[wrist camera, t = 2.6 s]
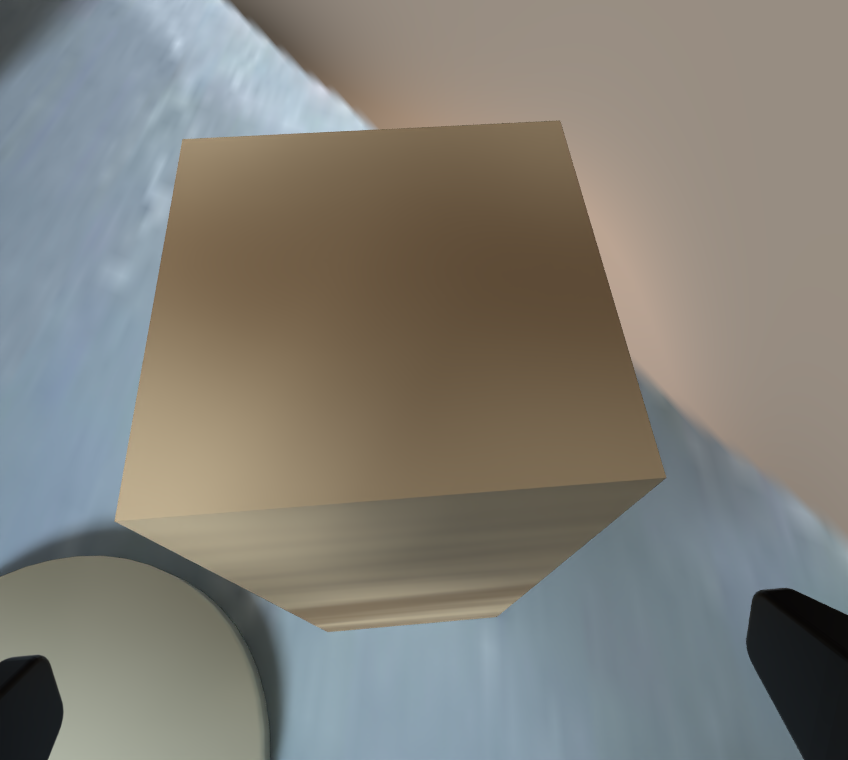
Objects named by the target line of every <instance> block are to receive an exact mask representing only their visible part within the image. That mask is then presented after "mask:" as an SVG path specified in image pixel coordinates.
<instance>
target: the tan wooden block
mask: <svg viewBox="0 0 848 760" xmlns="http://www.w3.org/2000/svg"><path fill="white" fill-rule="evenodd" d="M665 478H666V475H665V472H664V468H663V465H662V462H661V458H660V455H659V452H658V448H657V445H656V442H655V438H654V435H653V431H652V428H651V425H650V421H649V418H648V415H647V411H646V408H645V404H644V401H643V398H642V394H641V391H640V388H639V384H638V381H637V378H636V374H635V371H634V367H633V364H632V361H631V357H630V354H629V351H628V347H627V344H626V341H625V337H624V334H623V330H622V327H621V324H620V320H619V317H618V314H617V310H616V307H615V304H614V300H613V297H612V293H611V290H610V287H609V283H608V280H607V277H606V273H605V270H604V267H603V263H602V260H601V257H600V253H599V250H598V246H597V243H596V240H595V237H594V233H593V229H592V226H591V223H590V220H589V216H588V213H587V210H586V206H585V203H584V199H583V196H582V193H581V189H580V186H579V183H578V179H577V176H576V172H575V169H574V166H573V162H572V159H571V156H570V152H569V149H568V145H567V142H566V139H565V136H564V132H563V129H562V125H561V122H560V121H544V122H524V123H502V124H481V125H462V126H441V127H422V128H401V129H381V130H361V131H341V132H320V133H300V134H280V135H260V136H240V137H220V138H200V139H183V140H182V146H181V151H180V157H179V162H178V168H177V174H176V179H175V185H174V190H173V196H172V202H171V207H170V213H169V219H168V224H167V230H166V235H165V241H164V247H163V252H162V258H161V264H160V269H159V275H158V280H157V286H156V292H155V297H154V303H153V308H152V314H151V320H150V325H149V331H148V337H147V342H146V348H145V353H144V359H143V365H142V370H141V376H140V381H139V387H138V393H137V398H136V404H135V410H134V415H133V421H132V426H131V432H130V438H129V443H128V449H127V455H126V460H125V466H124V471H123V477H122V483H121V488H120V494H119V499H118V505H117V511H116V516H115V522H117V523H119V524H121V525H123V526H125V527H127V528H128V529H130V530H132V531H134V532H136V533H138V534H140V535H142V536H144V537H146V538H148V539H150V540H152V541H153V542H155V543H157V544H159V545H161V546H163V547H165V548H167V549H169V550H171V551H173V552H175V553H177V554H179V555H180V556H182V557H184V558H186V559H188V560H190V561H192V562H194V563H196V564H198V565H200V566H202V567H204V568H205V569H207V570H209V571H211V572H213V573H215V574H217V575H219V576H221V577H223V578H225V579H227V580H229V581H231V582H232V583H234V584H236V585H238V586H240V587H242V588H244V589H246V590H248V591H250V592H252V593H254V594H256V595H257V596H259V597H261V598H263V599H265V600H267V601H269V602H271V603H273V604H275V605H277V606H279V607H281V608H283V609H284V610H286V611H288V612H290V613H292V614H294V615H296V616H298V617H300V618H302V619H304V620H306V621H308V622H309V623H311V624H313V625H315V626H317V627H319V628H321V629H323V630H325V631H327V632H333V631H345V630H356V629H367V628H378V627H390V626H401V625H412V624H423V623H435V622H446V621H457V620H468V619H479V618H491V617H497V616H499V615H500V614H501V613H502V612H503V611H505V610H506V609H507V608H508V607H509V606H511V605H512V604H513V603H514V602H516V601H517V600H518V599H519V598H520V597H522V596H523V595H524V594H525V593H527V592H528V591H529V590H530V589H531V588H533V587H534V586H535V585H536V584H537V583H539V582H540V581H541V580H542V579H544V578H545V577H546V576H547V575H548V574H550V573H551V572H552V571H553V570H555V569H556V568H557V567H558V566H559V565H561V564H562V563H563V562H564V561H565V560H567V559H568V558H569V557H570V556H572V555H573V554H574V553H575V552H576V551H578V550H579V549H580V548H581V547H583V546H584V545H585V544H586V543H587V542H589V541H590V540H591V539H592V538H593V537H595V536H596V535H597V534H598V533H600V532H601V531H602V530H603V529H604V528H606V527H607V526H608V525H609V524H611V523H612V522H613V521H614V520H615V519H617V518H618V517H619V516H620V515H622V514H623V513H624V512H625V511H626V510H628V509H629V508H630V507H631V506H632V505H634V504H635V503H636V502H637V501H639V500H640V499H641V498H642V497H643V496H645V495H646V494H647V493H648V492H650V491H651V490H652V489H653V488H654V487H656V486H657V485H658V484H659V483H660V482H662V481H663V480H664V479H665Z"/></svg>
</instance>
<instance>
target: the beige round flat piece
mask: <svg viewBox="0 0 848 760" xmlns="http://www.w3.org/2000/svg"><path fill="white" fill-rule="evenodd" d="M28 655H42V656H45V657H46V658H47V659H48V660H49V662H50V664H51V667H52V671H53V674H54V677H55V680H56V683H57V686H58V690H59V693H60V696H61V699H62V702H63V710H64V714H63V721H62V725H61V728H60V731H59V734H58V736H57V739H56V741H55V744H54V746H53V749H52V751H51V754H50V756H49V759H48V760H270V727H269V719H268V712H267V704H266V698H265V694H264V690H263V687H262V683H261V679H260V675H259V672H258V669H257V667H256V664H255V662H254V660H253V657H252V655H251V652H250V650H249V648H248V646H247V644H246V642H245V641H244V639H243V637H242V636H241V634H240V632H239V631H238V629H237V627H236V626H235V625H234V623H233V622H232V621H231V620H230V618H229V617H228V616H227V615H226V613H225V612H224V611H223V610H222V609H221V608H220V607H219V606H218V605H217V604H216V603H215V602H214V601H213V600H212V599H210V598H209V597H208V596H207V595H206V594H205V593H203V592H202V591H200V590H199V589H197V588H196V587H194V586H193V585H191V584H190V583H188V582H187V581H185V580H182V579H180V578H178V577H176V576H173V575H171V574H169V573H167V572H165V571H162V570H160V569H157V568H155V567H153V566H150V565H147V564H144V563H140V562H136V561H133V560H129V559H124V558H116V557H108V556H76V557H69V558H62V559H55V560H50V561H46V562H42V563H38V564H35V565H31V566H27V567H24V568H22V569H19V570H16V571H14V572H11V573H9V574H6V575H4V576H1V577H0V662H1V661H3V660H5V659H7V658H11V657H17V656H28Z"/></svg>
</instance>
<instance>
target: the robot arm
mask: <svg viewBox="0 0 848 760" xmlns="http://www.w3.org/2000/svg"><path fill="white" fill-rule="evenodd" d="M746 645H747V651H748V655H749V658H750V660H751V662H752V664H753V666H754V668H755V670H756V672H757V674H758V675H759V677H760V679H761V681H762V683H763V685H764V687H765V688H766V690H767V692H768V694H769V696H770V698H771V700H772V701H773V703H774V705H775V707H776V709H777V711H778V712H779V714H780V716H781V718H782V720H783V722H784V724H785V725H786V727H787V729H788V731H789V733H790V735H791V737H792V738H793V740H794V742H795V744H796V746H797V748H798V749H799V751H800V753H801V755H802V757H803V759H804V760H848V615H846V614H844V613H842V612H840V611H838V610H836V609H833V608H831V607H829V606H827V605H825V604H823V603H821V602H818V601H816V600H814V599H812V598H810V597H808V596H806V595H804V594H801V593H799V592H797V591H795V590H793V589H789V588H777V589H766V590H760V591H758V592H756V593H755V595H754V596H753V599H752V604H751V611H750V618H749V625H748V631H747V638H746ZM63 714H64V710H63V702H62V699H61V696H60V693H59V690H58V686H57V683H56V680H55V677H54V674H53V671H52V667H51V664H50V662H49V660H48V659H47V658H46V657H45V656H42V655H28V656H17V657H11V658H7V659H5V660H3V661H1V662H0V760H48V759H49V756H50V754H51V751H52V749H53V746H54V744H55V741H56V739H57V736H58V734H59V731H60V728H61V725H62V721H63Z"/></svg>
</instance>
